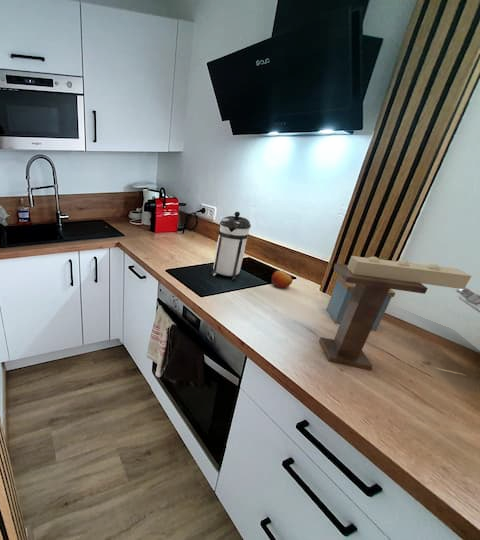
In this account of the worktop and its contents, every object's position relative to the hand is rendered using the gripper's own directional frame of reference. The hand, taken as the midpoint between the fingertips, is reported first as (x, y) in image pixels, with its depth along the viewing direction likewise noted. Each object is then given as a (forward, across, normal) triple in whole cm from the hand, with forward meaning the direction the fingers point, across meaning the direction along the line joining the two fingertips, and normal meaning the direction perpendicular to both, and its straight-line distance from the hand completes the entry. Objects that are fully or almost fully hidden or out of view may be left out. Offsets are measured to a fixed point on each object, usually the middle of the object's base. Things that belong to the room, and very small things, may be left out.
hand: (474, 297), depth 68 cm
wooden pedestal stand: (+6, 0, +30) cm, 31 cm away
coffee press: (+35, -49, +47) cm, 77 cm away
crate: (-2, -24, +26) cm, 36 cm away
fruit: (+15, -44, +36) cm, 59 cm away
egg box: (+14, 0, +5) cm, 15 cm away
